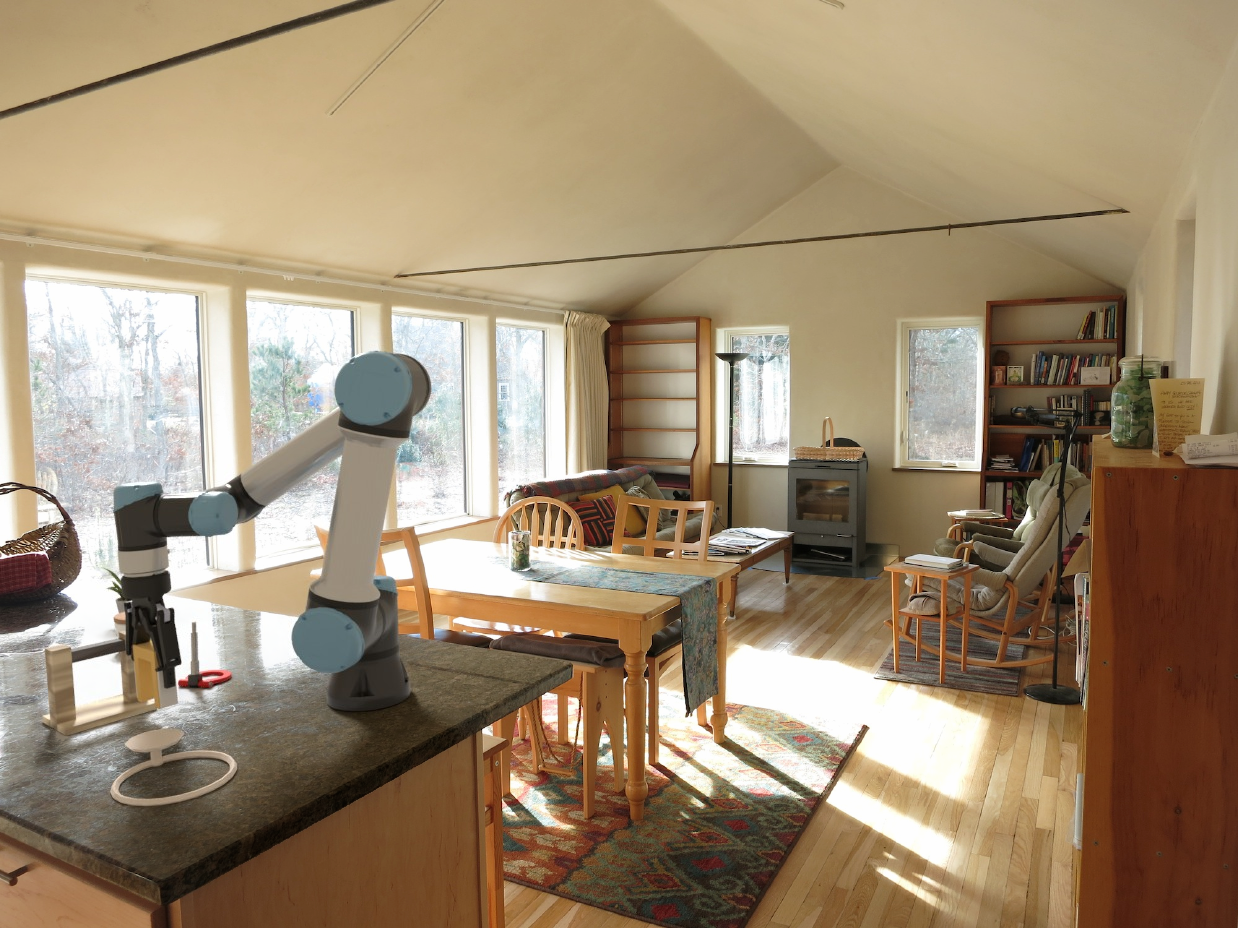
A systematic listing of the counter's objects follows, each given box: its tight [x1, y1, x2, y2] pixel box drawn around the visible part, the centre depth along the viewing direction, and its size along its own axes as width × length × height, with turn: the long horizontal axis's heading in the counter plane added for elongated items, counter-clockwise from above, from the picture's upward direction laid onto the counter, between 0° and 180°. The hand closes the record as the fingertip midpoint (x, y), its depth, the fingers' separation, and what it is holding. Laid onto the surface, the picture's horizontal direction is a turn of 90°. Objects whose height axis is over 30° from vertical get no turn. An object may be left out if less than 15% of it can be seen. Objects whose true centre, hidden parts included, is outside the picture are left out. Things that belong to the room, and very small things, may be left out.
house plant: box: [100, 566, 132, 614], centre depth 219 cm, size 14×14×16 cm
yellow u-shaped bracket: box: [133, 641, 176, 710], centre depth 152 cm, size 8×3×10 cm, turn 52°
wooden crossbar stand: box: [41, 631, 157, 736], centre depth 156 cm, size 10×15×14 cm, turn 142°
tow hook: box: [177, 621, 232, 689], centre depth 175 cm, size 8×13×9 cm
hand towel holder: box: [110, 728, 238, 807], centre depth 132 cm, size 17×4×21 cm
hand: (157, 700), depth 152 cm, fingers closed on yellow u-shaped bracket, 8 cm apart
